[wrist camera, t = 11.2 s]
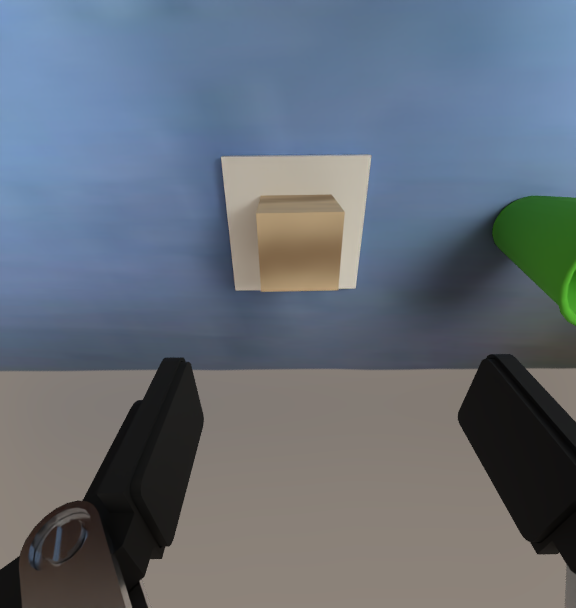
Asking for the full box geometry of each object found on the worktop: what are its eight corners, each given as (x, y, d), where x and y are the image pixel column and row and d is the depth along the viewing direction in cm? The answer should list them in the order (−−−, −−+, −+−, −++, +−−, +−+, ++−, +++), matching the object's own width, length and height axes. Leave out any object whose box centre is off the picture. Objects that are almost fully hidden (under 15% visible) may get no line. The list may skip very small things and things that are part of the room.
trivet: (223, 155, 25) (221, 156, 24) (368, 154, 25) (371, 155, 24) (236, 285, 31) (235, 290, 30) (353, 283, 31) (355, 288, 30)
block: (260, 195, 26) (255, 213, 20) (331, 194, 26) (344, 211, 20) (264, 261, 29) (261, 291, 23) (327, 260, 29) (338, 290, 23)
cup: (471, 280, 31) (555, 347, 22) (466, 194, 27) (568, 231, 17) (566, 250, 30) (699, 308, 20) (577, 154, 25) (753, 172, 16)
